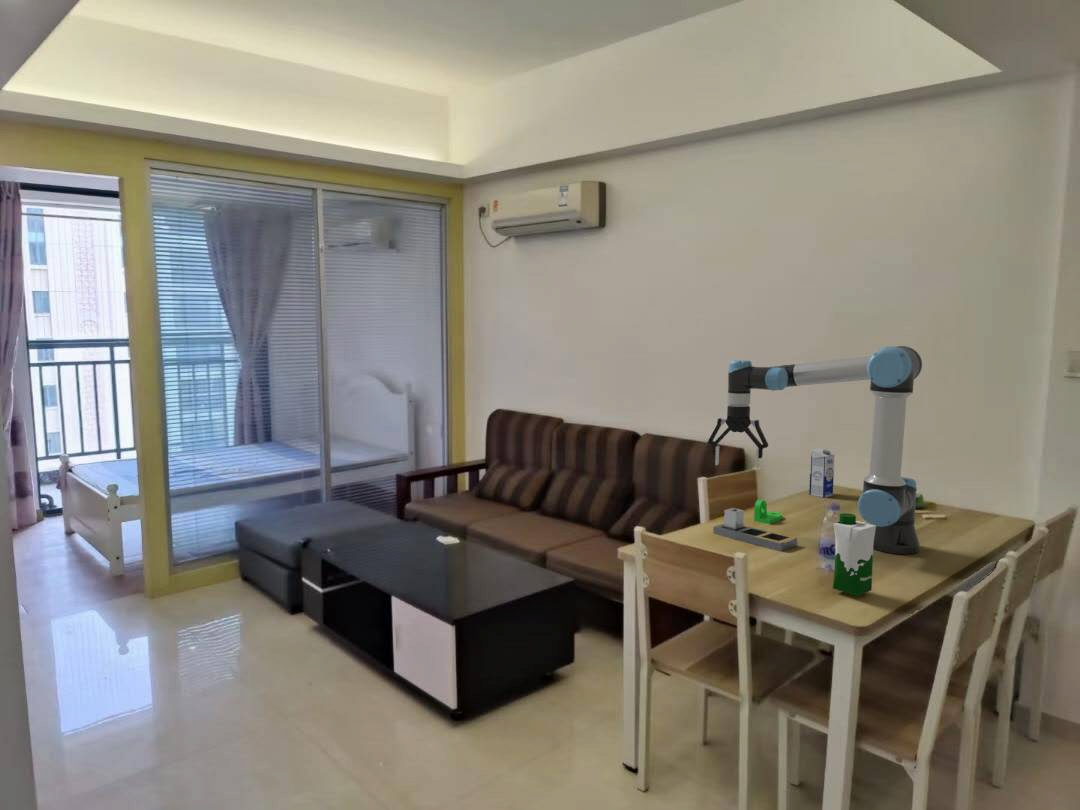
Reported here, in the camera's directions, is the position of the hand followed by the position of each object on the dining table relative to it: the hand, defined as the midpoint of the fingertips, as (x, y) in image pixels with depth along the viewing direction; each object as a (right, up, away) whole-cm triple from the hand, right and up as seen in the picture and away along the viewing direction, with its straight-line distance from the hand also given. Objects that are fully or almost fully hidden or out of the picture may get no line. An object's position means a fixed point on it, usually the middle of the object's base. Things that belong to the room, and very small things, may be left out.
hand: (736, 466), depth 254 cm
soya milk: (+16, -29, -57) cm, 66 cm away
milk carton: (+48, -17, +49) cm, 70 cm away
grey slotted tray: (+3, -24, -11) cm, 26 cm away
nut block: (-2, -22, -5) cm, 23 cm away
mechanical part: (+16, -21, +13) cm, 29 cm away
